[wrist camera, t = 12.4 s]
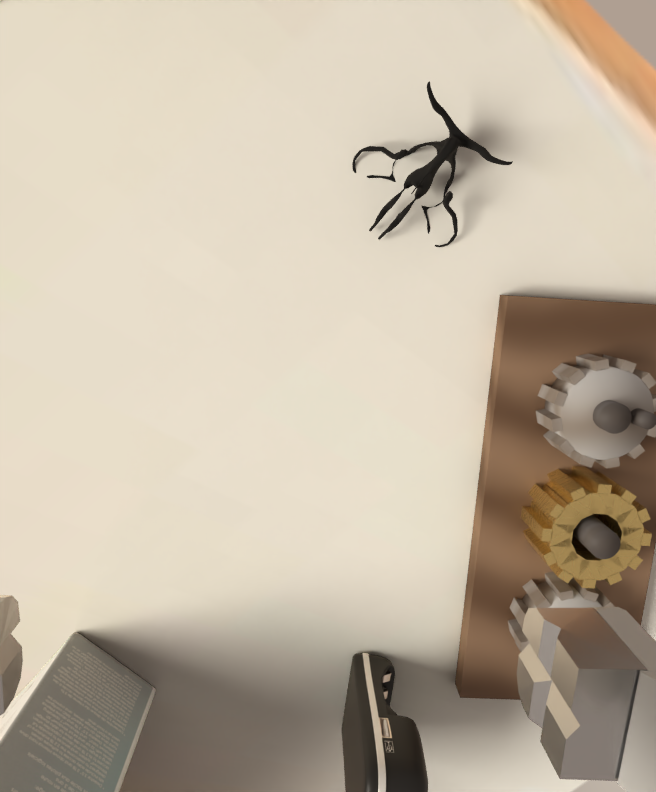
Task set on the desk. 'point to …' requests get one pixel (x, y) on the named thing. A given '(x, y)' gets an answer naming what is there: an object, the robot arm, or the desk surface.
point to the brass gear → (567, 506)
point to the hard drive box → (73, 723)
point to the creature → (430, 168)
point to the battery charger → (379, 734)
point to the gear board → (555, 467)
